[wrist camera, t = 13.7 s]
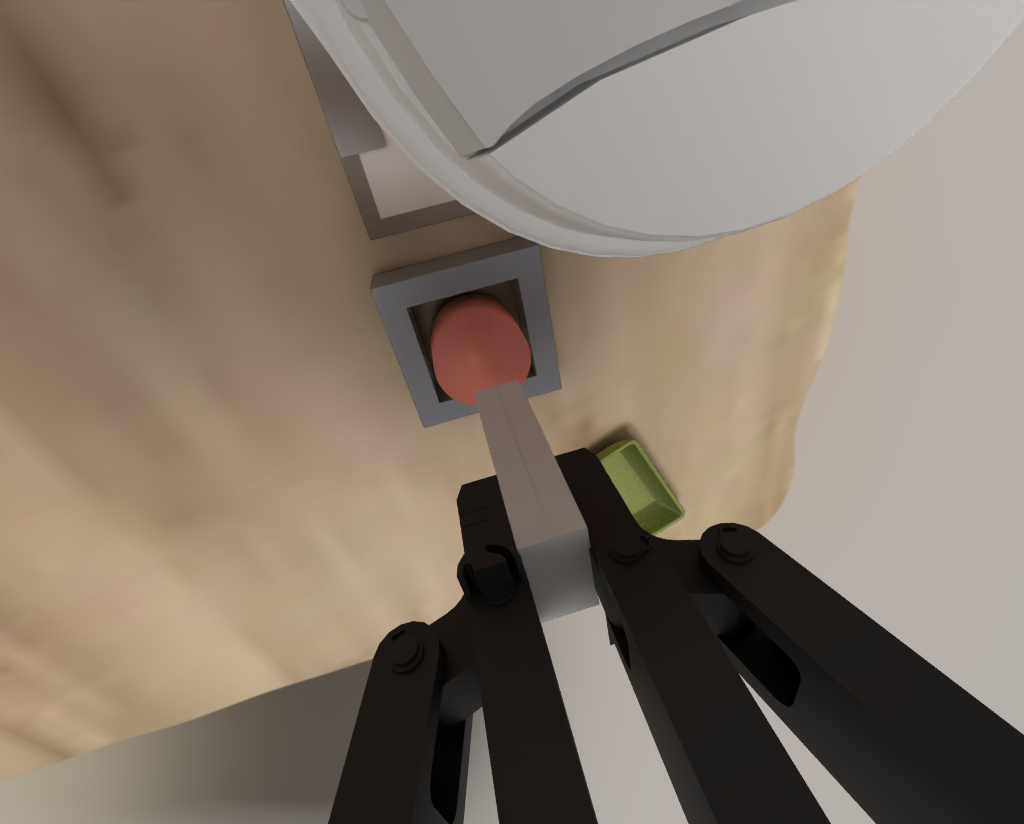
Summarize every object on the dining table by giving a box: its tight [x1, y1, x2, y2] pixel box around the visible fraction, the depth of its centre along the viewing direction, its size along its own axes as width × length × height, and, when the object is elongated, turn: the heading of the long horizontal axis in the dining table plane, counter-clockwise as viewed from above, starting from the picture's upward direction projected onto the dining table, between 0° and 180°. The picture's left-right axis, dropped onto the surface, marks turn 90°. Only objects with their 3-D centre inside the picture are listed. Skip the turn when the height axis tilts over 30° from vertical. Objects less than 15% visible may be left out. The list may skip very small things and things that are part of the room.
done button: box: [430, 294, 531, 406], centre depth 20 cm, size 4×4×3 cm
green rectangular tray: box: [596, 439, 685, 536], centre depth 30 cm, size 9×9×2 cm
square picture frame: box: [283, 0, 475, 240], centre depth 16 cm, size 11×12×1 cm
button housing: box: [370, 237, 562, 428], centre depth 21 cm, size 7×7×2 cm
